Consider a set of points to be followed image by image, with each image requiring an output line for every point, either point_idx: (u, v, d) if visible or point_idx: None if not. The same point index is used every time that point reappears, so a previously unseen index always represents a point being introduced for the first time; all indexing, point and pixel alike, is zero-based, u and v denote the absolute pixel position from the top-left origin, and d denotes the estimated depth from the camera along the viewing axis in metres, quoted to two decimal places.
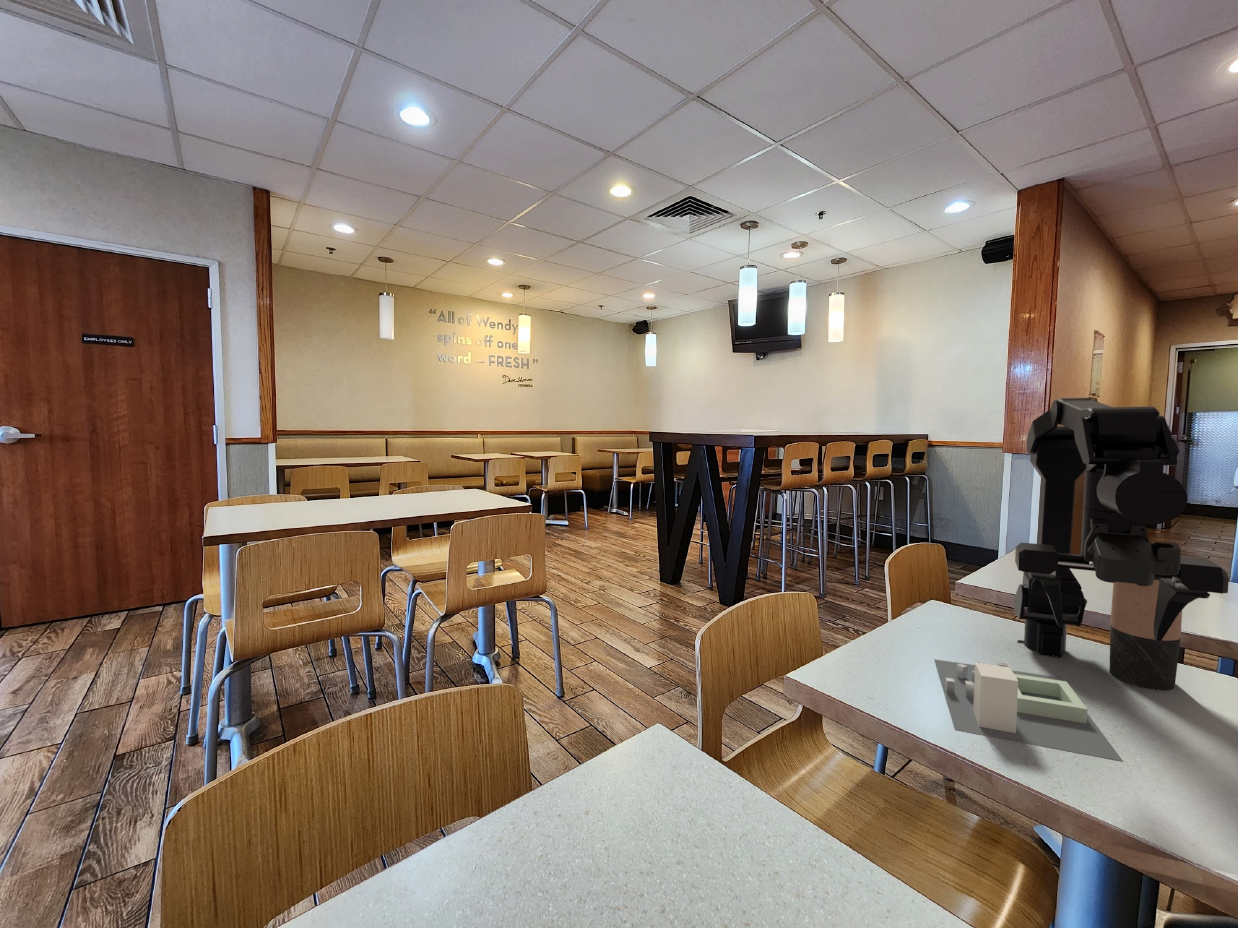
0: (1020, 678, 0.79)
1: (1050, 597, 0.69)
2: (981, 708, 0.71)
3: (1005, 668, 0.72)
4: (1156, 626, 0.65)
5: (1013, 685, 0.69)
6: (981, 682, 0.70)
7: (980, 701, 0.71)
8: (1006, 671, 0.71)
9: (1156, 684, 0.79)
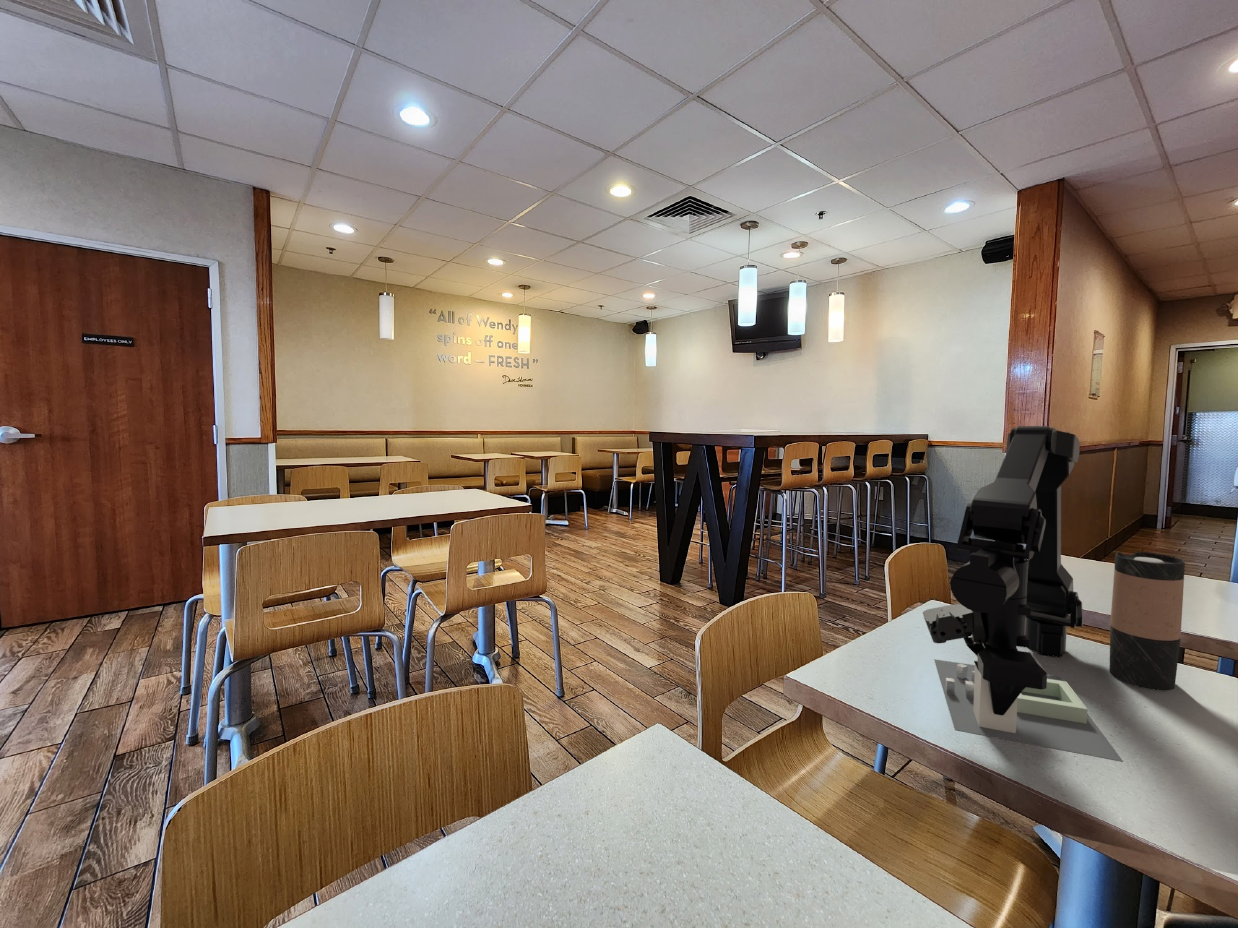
0: None
1: None
2: (981, 708, 0.71)
3: None
4: None
5: None
6: (981, 682, 0.70)
7: (980, 701, 0.71)
8: None
9: (1156, 684, 0.79)
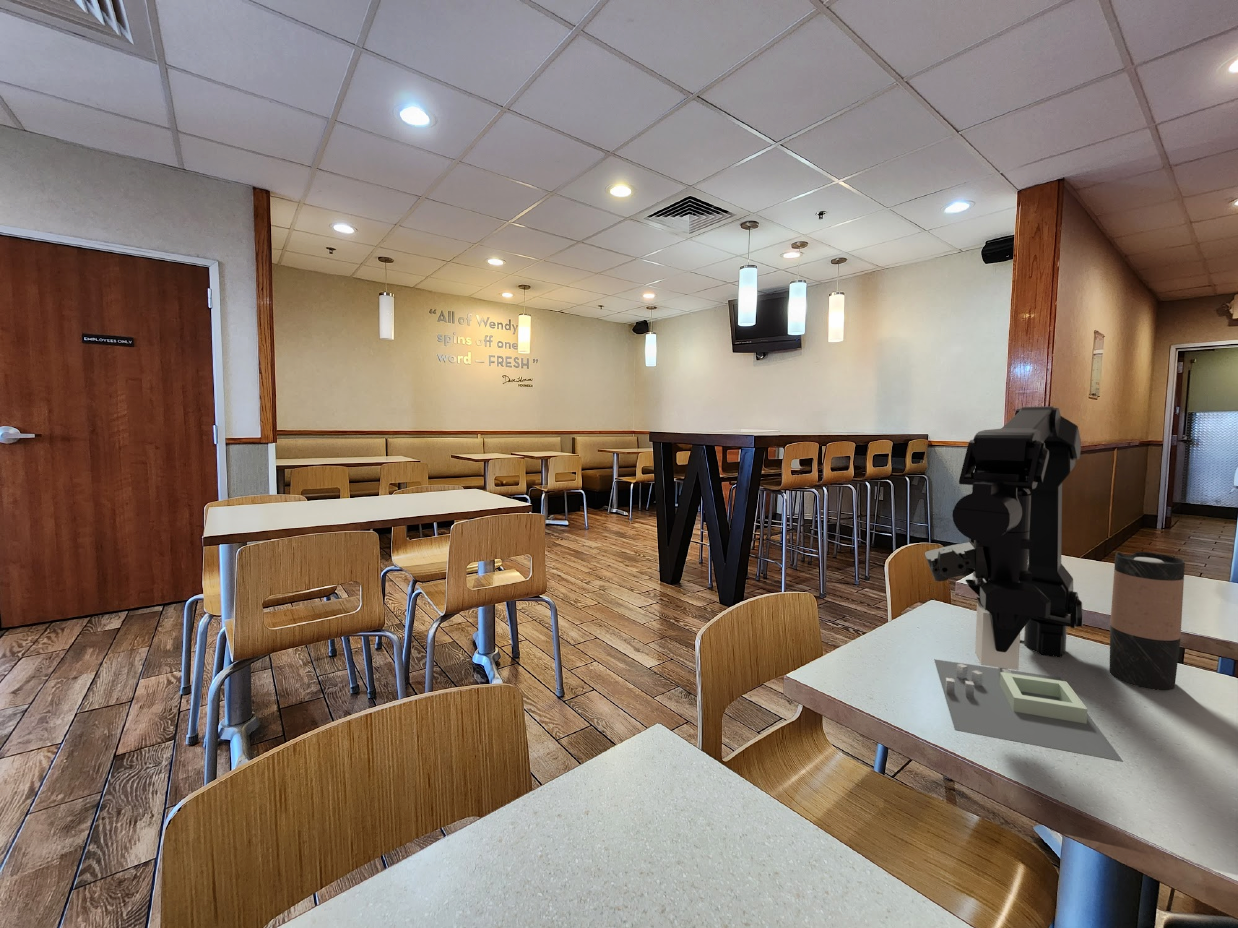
0: (1020, 678, 0.79)
1: None
2: (983, 646, 0.70)
3: None
4: None
5: None
6: (983, 619, 0.69)
7: (982, 639, 0.70)
8: None
9: (1156, 684, 0.79)
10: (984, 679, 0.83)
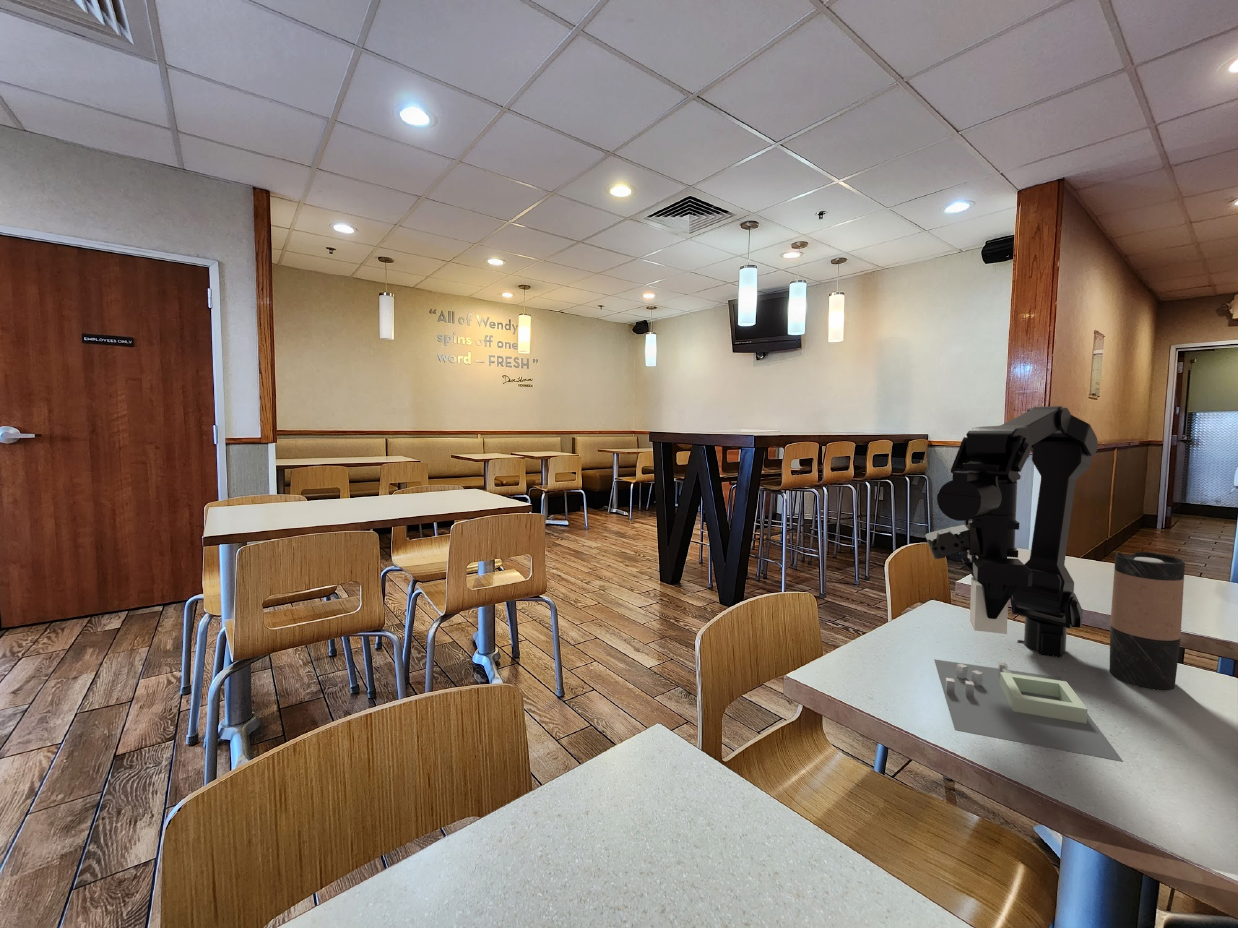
0: (1020, 678, 0.79)
1: None
2: (976, 614, 0.80)
3: None
4: None
5: None
6: (976, 591, 0.80)
7: (975, 608, 0.80)
8: None
9: (1156, 684, 0.79)
10: (984, 679, 0.83)
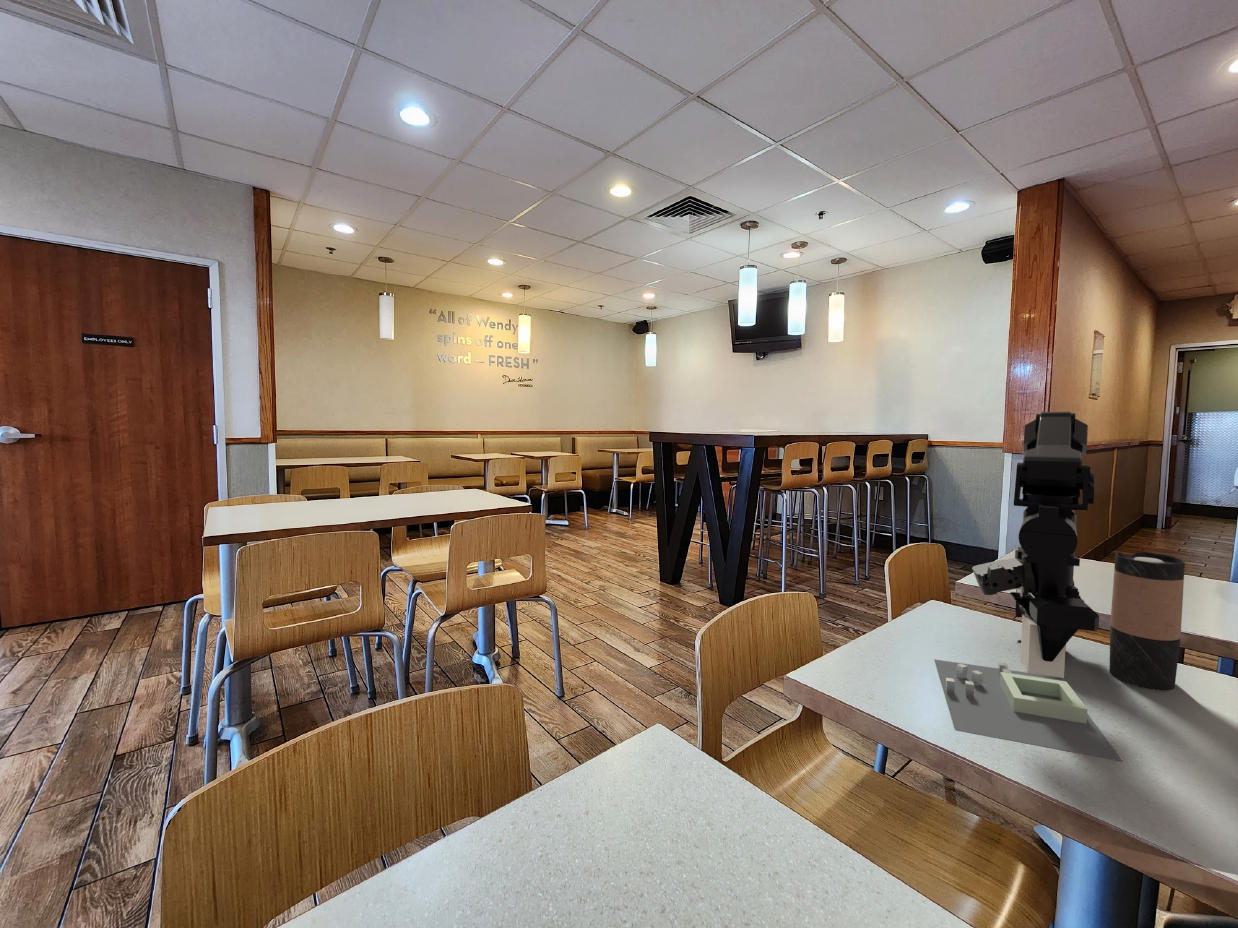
0: (1020, 678, 0.79)
1: None
2: (1030, 655, 0.75)
3: None
4: None
5: None
6: (1030, 630, 0.74)
7: (1029, 649, 0.75)
8: None
9: (1156, 684, 0.79)
10: (984, 679, 0.83)
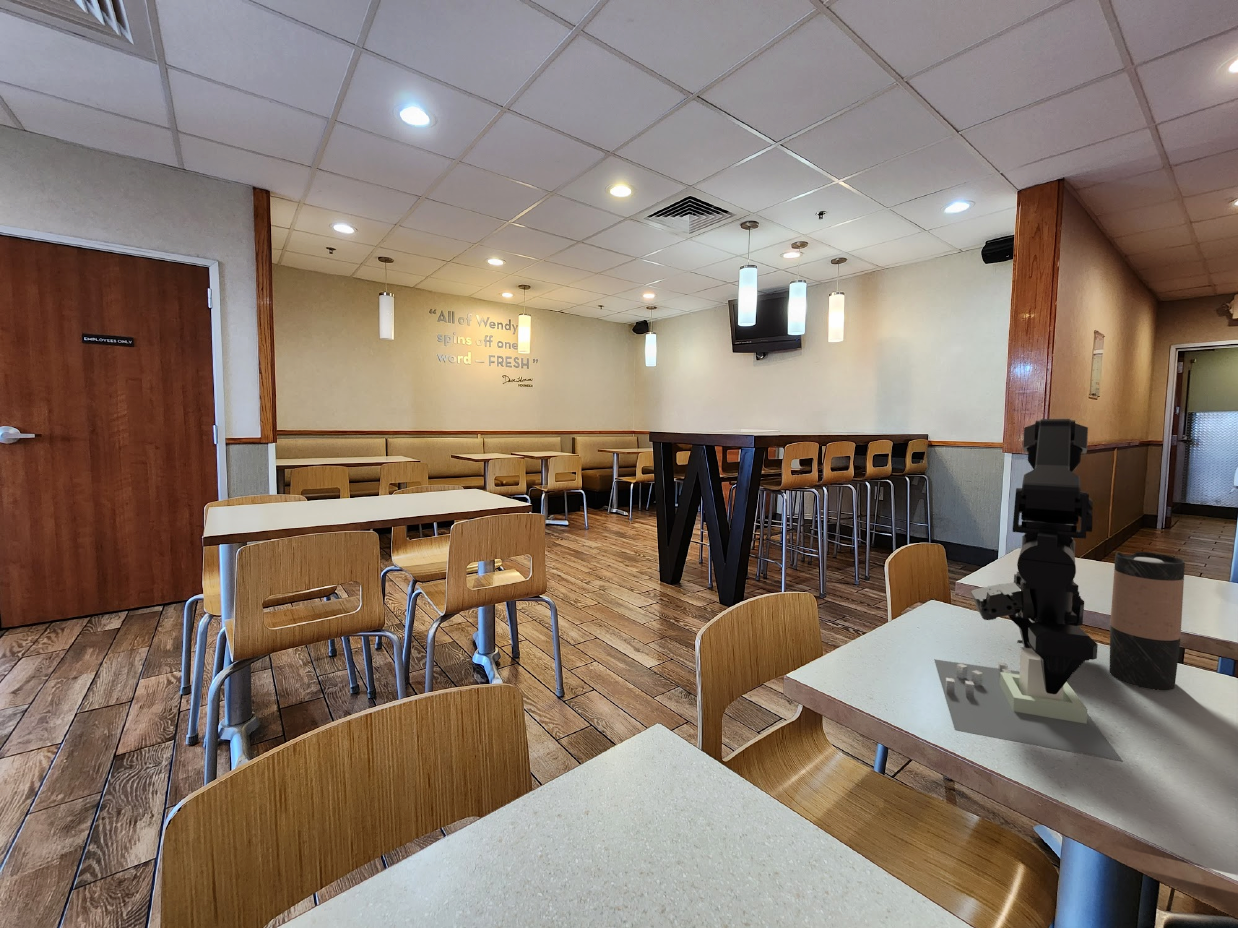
0: None
1: (1021, 636, 0.81)
2: (1028, 689, 0.75)
3: None
4: None
5: None
6: (1029, 665, 0.75)
7: (1027, 683, 0.75)
8: None
9: (1156, 684, 0.79)
10: (984, 679, 0.83)
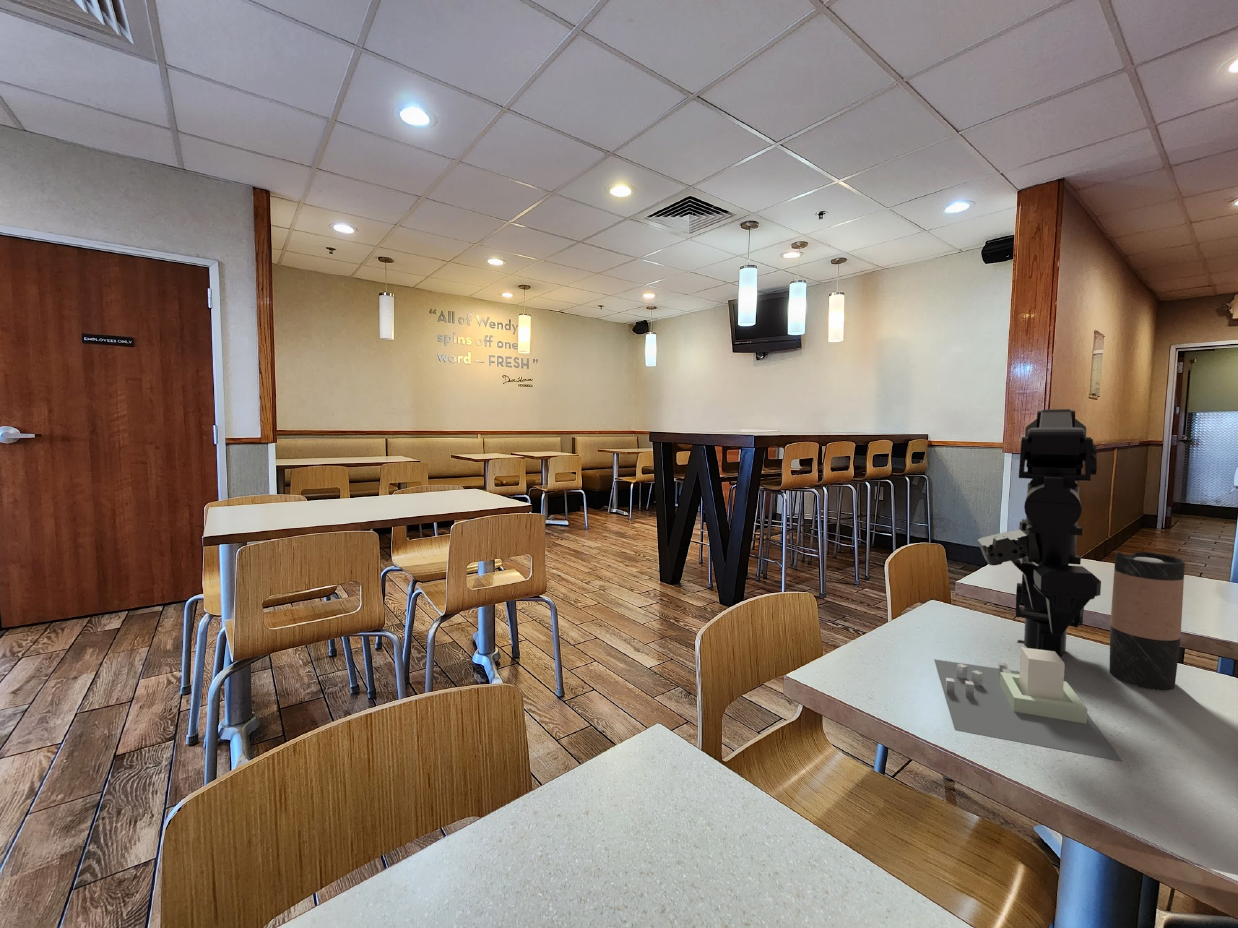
0: None
1: (1025, 582, 0.84)
2: (1028, 689, 0.75)
3: (1050, 651, 0.77)
4: None
5: (1060, 667, 0.73)
6: (1029, 665, 0.75)
7: (1027, 683, 0.75)
8: (1051, 655, 0.75)
9: (1156, 684, 0.79)
10: (984, 679, 0.83)
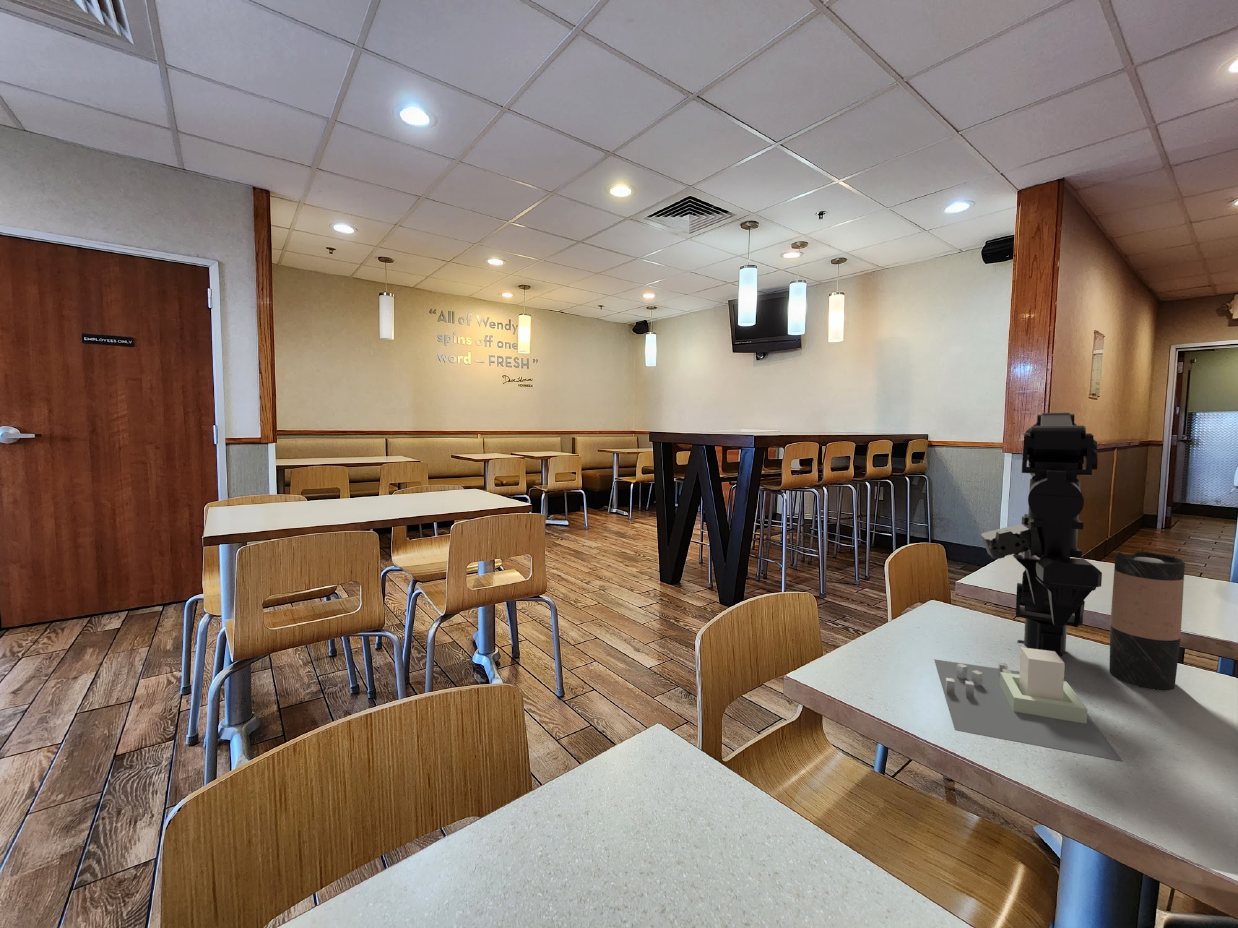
0: None
1: (1027, 577, 0.85)
2: (1028, 689, 0.75)
3: (1050, 651, 0.77)
4: None
5: (1060, 667, 0.73)
6: (1029, 665, 0.75)
7: (1027, 683, 0.75)
8: (1051, 655, 0.75)
9: (1156, 684, 0.79)
10: (984, 679, 0.83)
